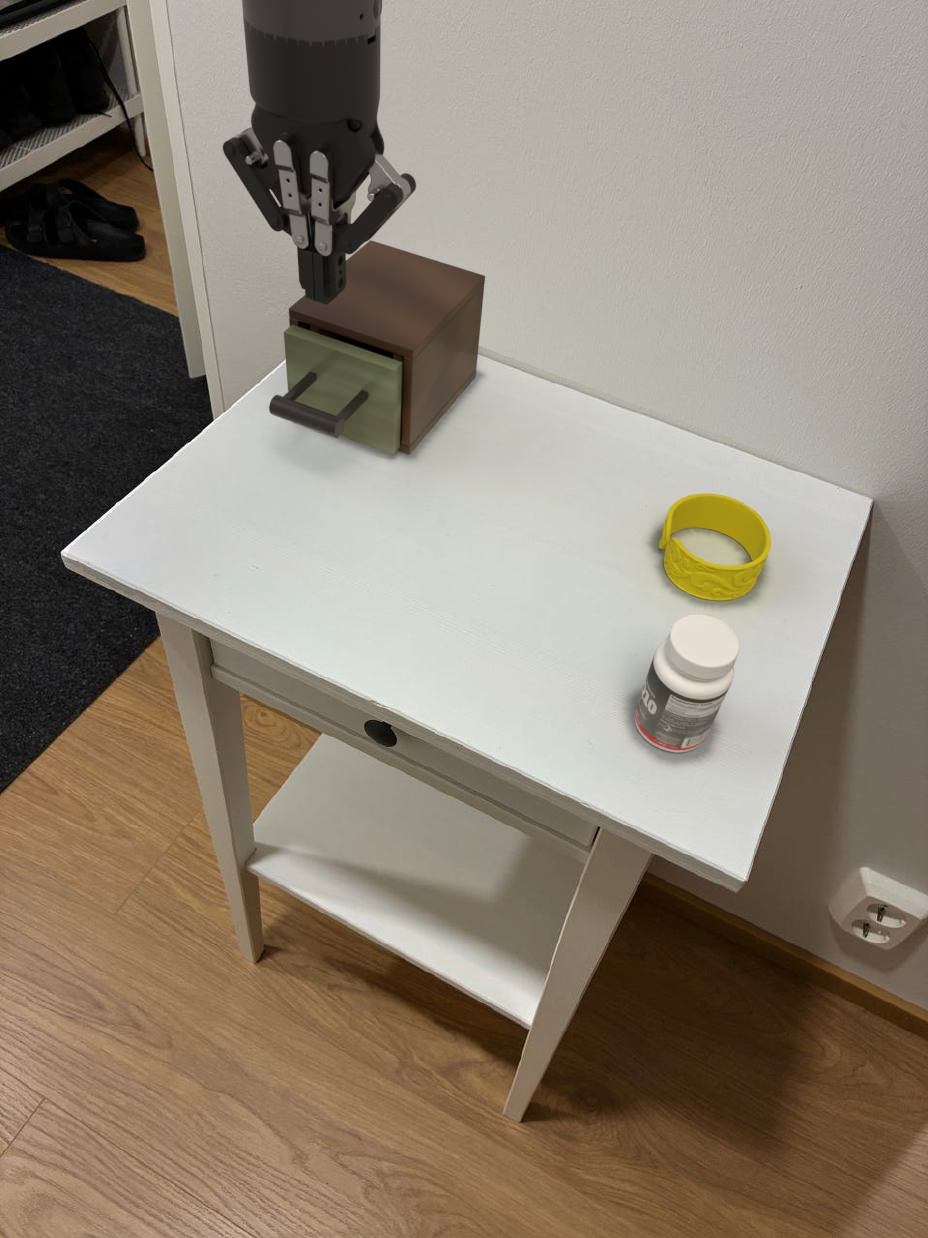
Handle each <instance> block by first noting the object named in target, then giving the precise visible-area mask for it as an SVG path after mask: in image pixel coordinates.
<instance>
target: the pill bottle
mask: <svg viewBox="0 0 928 1238" xmlns="http://www.w3.org/2000/svg"><path fill="white" fill-rule="evenodd" d="M738 637H739V636H738V635H737V634H736V632H735V631H734V629H732V627H730V625H728V624H727V623H726V622H724V621H723V620H721V619H719V618H717V617H714V616H711V615H707V614H701V613H700V614H699V613H698V614H697V613H695V614H688V615H684V616H682V617H680V618H679V619H677V620H676V621H675V622H674V623H673V625H672V626H671V628H670V630H669V633H668V635H667V637H666V638H665V639H664V640H662V641H661V642H660V643H659V645H658V646H657V648H656V649H655V651H654V654H653V657H652V660H651V662H650V666H649V668H648V671H647V674H646V677H645V680H644V683H643V686H642V689H641V691H640V694H639V697H638V698H637V699H638V700H637V703H636V705H635V709H634V723H635V727H636V729H637V730H638V732H639V734H640V735H641V736H642V737H643V739H645V740H646V741H647V742H648V743H649V744H651V745H653V746H654V747H656V748H658V749H660V750H663V751H665V752H670V753H686V752H690V751H693V750H694V749H697V748H698V747H700V746H701V745H702V744H703V743H704V741H705V740H706V739H707V737H708V735H709V733H710V731H711V728H712V726H713V724H714V721H715V719H716V717H717V715H718V713H719V712H720V709H721V706H722V704H723V702H724V700H725V698H726V696H727V694H728V692H729V690H730V687H731V685H732V683H733V679H734V676H735V664H736V662H737V658H738V656H739V654H740V646H741V645H740V641H739V638H738Z"/></svg>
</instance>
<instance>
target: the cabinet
mask: <svg viewBox="0 0 928 1238" xmlns="http://www.w3.org/2000/svg"><path fill="white" fill-rule="evenodd" d="M485 284H486V275H484V274H481V273H477V272H474V271H471V270H468V269H465V268H461V267H458V266H456V265H452V264H450V263H449V264H448V263H446V262H442V261H439V260H436V259H434V258H433V259H432V258H429V257H426V256H424V255H423V256H422V255H419V254H416V253H413V252H411V251H407V250H403V249H400V248H397V247H394V246H391V245H387V244H384V243H381V242H377V241H374V240H371V239H369V240H368V241H367V243H365V244H364V245H363V246H362V247H360V248H358V249H357V250H356V251H355V252H354V253H353V254H351V256H350V257H348V258H346V286H345V288H344V290H343V291H342V292H341V293H339V294H338V296H337V297H336V298H334V299H333V300H332V301H331V302H330V303H329V304H327V305H325V304H322V303H319V302H316V301H313V300H310V299H307V298H306V296H305V294H304V295H303V296H302V297H300V298H299V299H298V300H297V301H295V303H293V304H292V305H290V307H289V308H288V321H289V322H288V323H289V327H290V326H291V325H295V326H297V327H300V328H303V329H306V330H309V331H310V325H313V326H316V327H319V328H322V329H325V330H328V331H331V332H334V333H337V334H339V335H342V336H345V337H348V338H351V339H354V340H357V341H360V342H363V343H366V344H369V345H372V346H375V347H378V348H381V349H384V350H387V351H389V352H392V353H395V354H398V355H401V356H404V369H403V403H402V430H401V431H400V447H399V449H398V450H397V451H398V452H401V453H403V454H406V455H410V454H411V453H412V452H413V451H414V450H415V449H416V447H418V445H419V444H420V443H421V441H422V440H423V439H425V437H426V436H427V435H428V433H429V432H430V431H431V430H432V429H433V428H434V426H435V425H436V424H437V423H438V422H439V420H441V418H442V417H443V416H444V415H445V413H446V412H447V411H448V410H449V409H450V407H451V406H452V405H453V404H454V403H455V402H456V401H457V399H458V398H459V397H460V396H461V395H462V393H463V392H464V391H465V390H466V389H467V388H468V387H469V385H470V384H471V383H472V382H473V380H474V379H476V376H477V365H478V358H479V357H478V355H479V344H480V334H481V326H482V316H483V315H482V313H483V304H484V295H485V293H484V292H485Z"/></svg>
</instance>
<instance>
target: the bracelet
mask: <svg viewBox="0 0 928 1238" xmlns="http://www.w3.org/2000/svg"><path fill="white" fill-rule="evenodd" d="M667 511H668V512H667V514H666V519H665V521H664V524H663V527H662V530H661V535H662V536H661V538H660V539H659V543H658V548H659V549H660V550H664V552H665V553H664V557H663V566H664V571H665V574H666V575H667V577H668V579H669V580H670V582H672V583H673V584H674V585H675V586H676V587H677V588H678V589H680V590H681V591H683V592H684V593H686V594H689V595H691V596H692V597H696V598H699V599H703V600H708V601H719V602H721V601H730V600H735V599H738V598H741V597H743V596H745V595H746V594H748V593H749V592H750V591H751V590H752V588H754V586H755V585H756V583H757V581H758V577H759V576H760V574H761V573H762V571H763V568H764V566H765V563H766V561H767V558H768V556H769V553H770V551H771V548H772V547H771V546H772V541H771V540H772V539H771V533H770V531H769V528H768V525H767V523H766V522H765V520H764V519H763V517H761V515H760V514H759V513H758V512H757V511H756V510H755V509H754V508H752V507H751V506H749V505H747V504H746V503H744V502H742V501H741V500H739V499H737V498H734V497H731V496H727V495H723V494H720V493H718V494H717V493H709V492H707V493H706V492H705V493H703V492H702V493H693V494H688V495H686V496H684V497H682V498H680V499H677V500H676V501H675V502H674V503H673V504H672V505H671V506H670V507H669V509H668V510H667ZM692 528H695V529H697V528H698V529H707V530H711V531H712V530H713V531H716V532H719V533H721V534H724V535H726V536H728V537H730V538H731V539H733V540H734V541H736V542H737V543H738V544H740V545H741V546H742V547H743V549H744V550H745V551H746V552H747V554H748V555H749V557H750V559H751V561H750V562H747V563H744V564H737V565H736V564H735V565H727V564H726V565H725V564H719V563H715V562H714V563H713V562H710V561H707V560H704V559H703V558H700V557H698V556H696V555H695V554H693V553H692V552H691V551H690V550H688V549H687V547H686V546H685V545H684V544H683V543H682V541H681V540H680V539H679V538H676V537H671V535H673V534H675V533H676V532H679V531H682V530H685V529H692Z"/></svg>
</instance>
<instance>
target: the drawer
mask: <svg viewBox="0 0 928 1238" xmlns="http://www.w3.org/2000/svg"><path fill="white" fill-rule="evenodd" d="M283 342H284V343H283V344H284V354H285V366H286V367H285V368H286V380H287V381H286V382H287V392H286V393H285V394H284V395H283V396H282V395H280V394H275V395H274V396H273V397H272V398H271V400H270V402H269V405H268V410H269V413H270V415H272V416H274V417H278V418H279V419H283V420H285V421H287V422H291V423H293V424H296V425H300V426H302V427H305V428H306V429H307V428H308V429H310V430H313V431H315V432H317V433H320V434H324V435H326V436H329V437H330V438H331V437H332V438H334V439H339V438H340V437H342V438H345V439H348V440H351V441H354V442H356V443H359V444H362V445H364V446H366V447H370V448H371V449H375V450H378V451H381V452H383V453H385V454H389V455H391V456H394V454H395V453H396V452H397V451H398V449H399V447H400V431H401V430H402V403H403V369H404V356H401V355H398V354H395V353H392V352H389V351H387V350H384V349H381V348H378V347H375V346H372V345H369V344H366V343H363V342H360V341H357V340H354V339H351V338H348V337H345V336H342V335H339V334H337V333H334V332H331V331H328V330H325V329H322V328H319V327H316V326H313V325H310V331H309V330H306V329H303V328H300V327H297V326H295V325H291V326H290V325H289V327H287V328H286V329H285V330H284V331H283Z"/></svg>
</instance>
